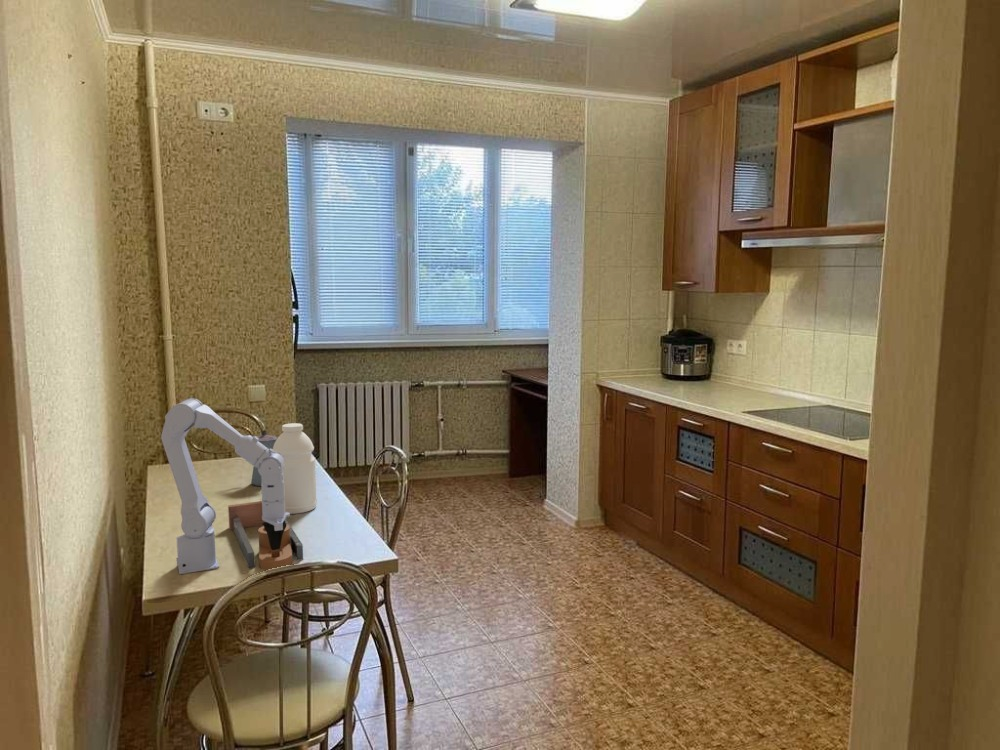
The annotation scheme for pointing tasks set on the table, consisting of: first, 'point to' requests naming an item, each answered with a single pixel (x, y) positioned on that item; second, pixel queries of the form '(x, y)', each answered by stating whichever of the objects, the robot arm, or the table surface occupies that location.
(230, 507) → the receiver
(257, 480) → the moka pot
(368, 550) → the table surface
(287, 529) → the bracket
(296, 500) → the bottle
